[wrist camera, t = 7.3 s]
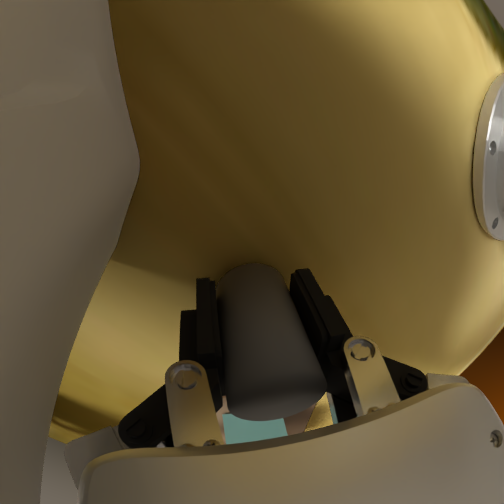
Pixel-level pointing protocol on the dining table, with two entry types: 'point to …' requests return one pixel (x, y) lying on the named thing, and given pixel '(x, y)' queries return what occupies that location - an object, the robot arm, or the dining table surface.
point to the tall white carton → (53, 208)
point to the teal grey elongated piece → (263, 354)
